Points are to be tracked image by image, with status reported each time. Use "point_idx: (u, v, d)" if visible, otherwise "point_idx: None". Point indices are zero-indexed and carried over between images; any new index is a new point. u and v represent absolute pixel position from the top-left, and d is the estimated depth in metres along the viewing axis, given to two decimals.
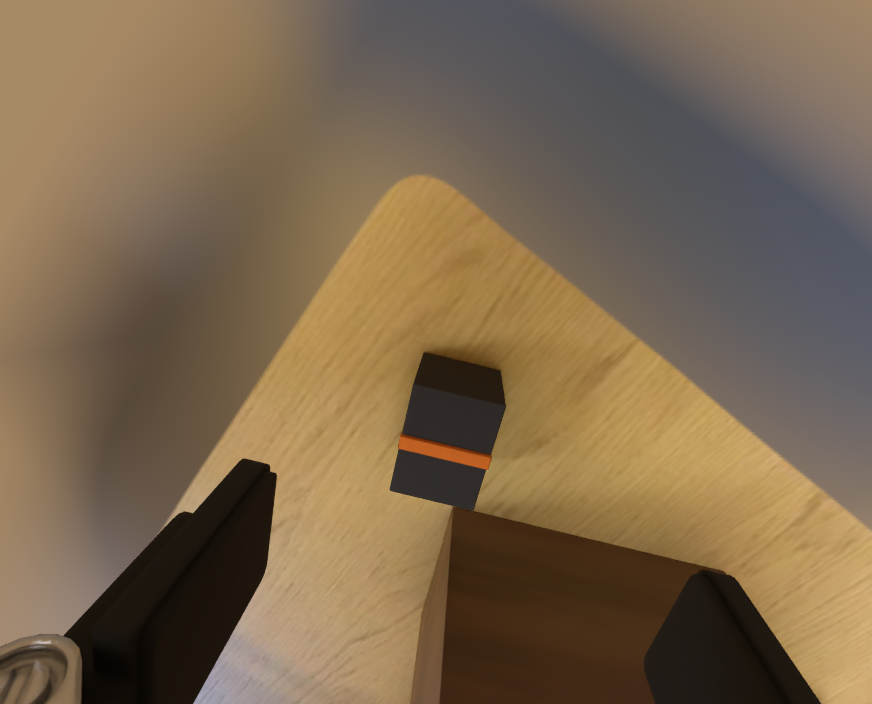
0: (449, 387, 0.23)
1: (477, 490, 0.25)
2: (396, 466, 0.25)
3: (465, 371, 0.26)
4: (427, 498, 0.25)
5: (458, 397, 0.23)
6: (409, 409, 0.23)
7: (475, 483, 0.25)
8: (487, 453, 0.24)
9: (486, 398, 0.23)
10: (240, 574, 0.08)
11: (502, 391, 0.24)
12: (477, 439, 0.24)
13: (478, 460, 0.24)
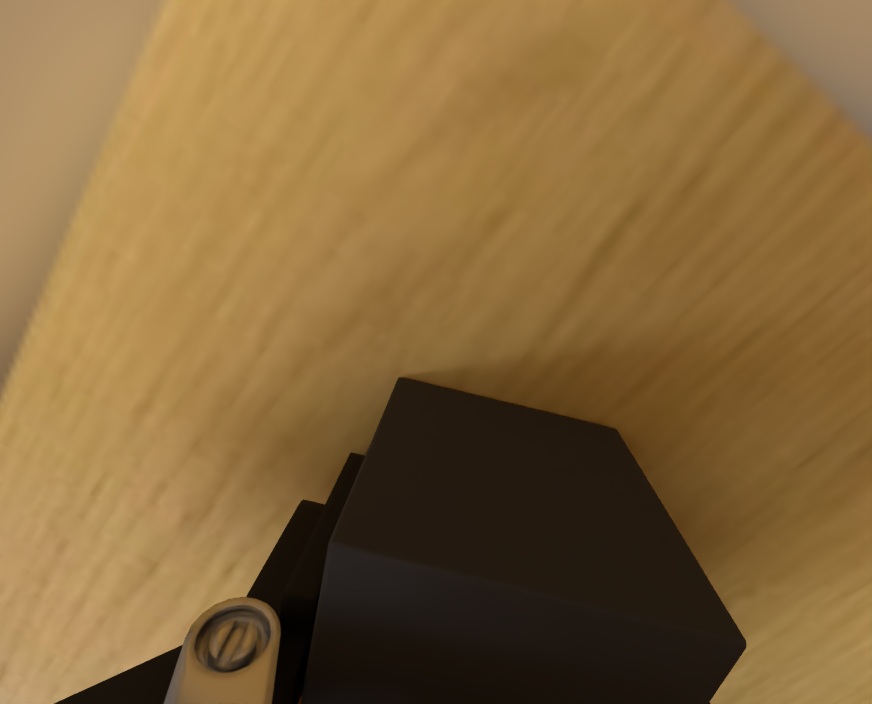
0: (487, 543, 0.06)
1: None
2: None
3: (524, 442, 0.08)
4: None
5: (530, 604, 0.05)
6: (319, 637, 0.06)
7: None
8: None
9: (652, 602, 0.05)
10: None
11: (677, 533, 0.07)
12: None
13: None
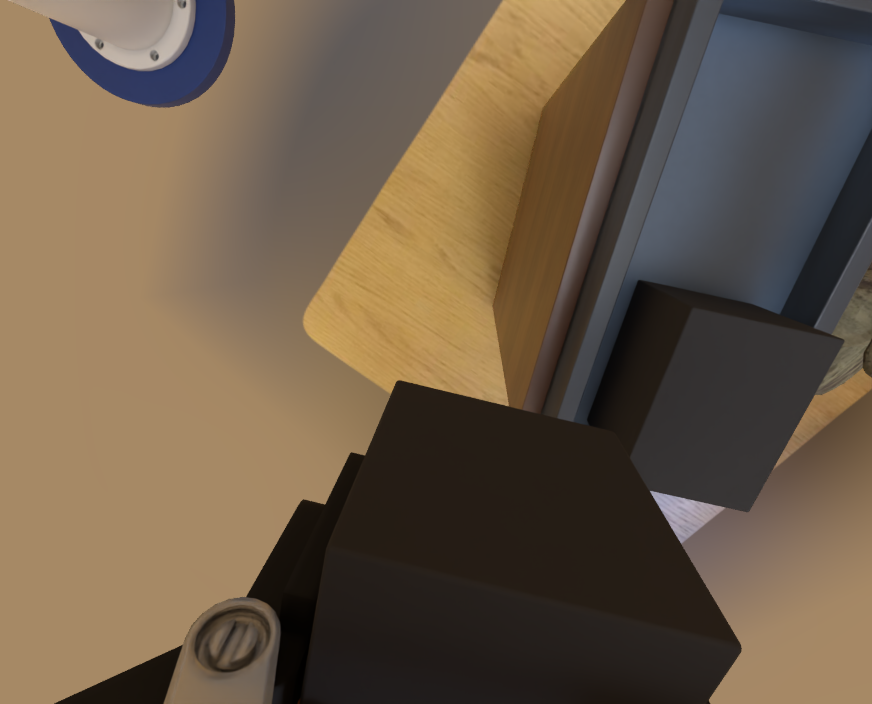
0: (484, 548, 0.06)
1: None
2: None
3: (522, 445, 0.08)
4: None
5: (527, 608, 0.05)
6: (316, 641, 0.06)
7: None
8: None
9: (647, 606, 0.05)
10: None
11: (673, 536, 0.07)
12: None
13: None
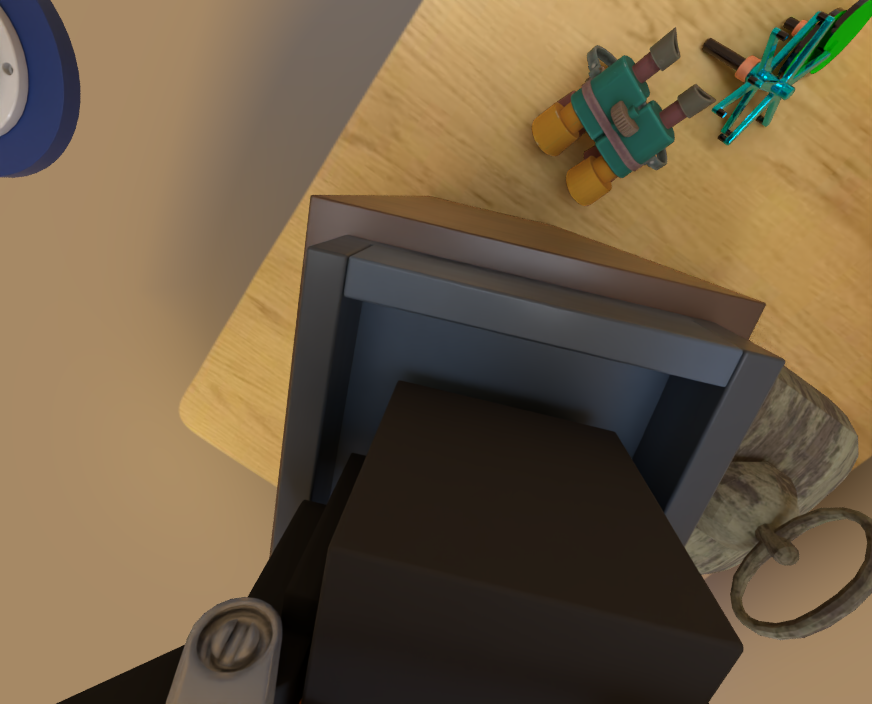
0: (485, 548, 0.06)
1: None
2: None
3: (523, 445, 0.08)
4: None
5: (529, 608, 0.05)
6: (318, 641, 0.06)
7: None
8: None
9: (651, 605, 0.05)
10: None
11: (675, 536, 0.07)
12: None
13: None
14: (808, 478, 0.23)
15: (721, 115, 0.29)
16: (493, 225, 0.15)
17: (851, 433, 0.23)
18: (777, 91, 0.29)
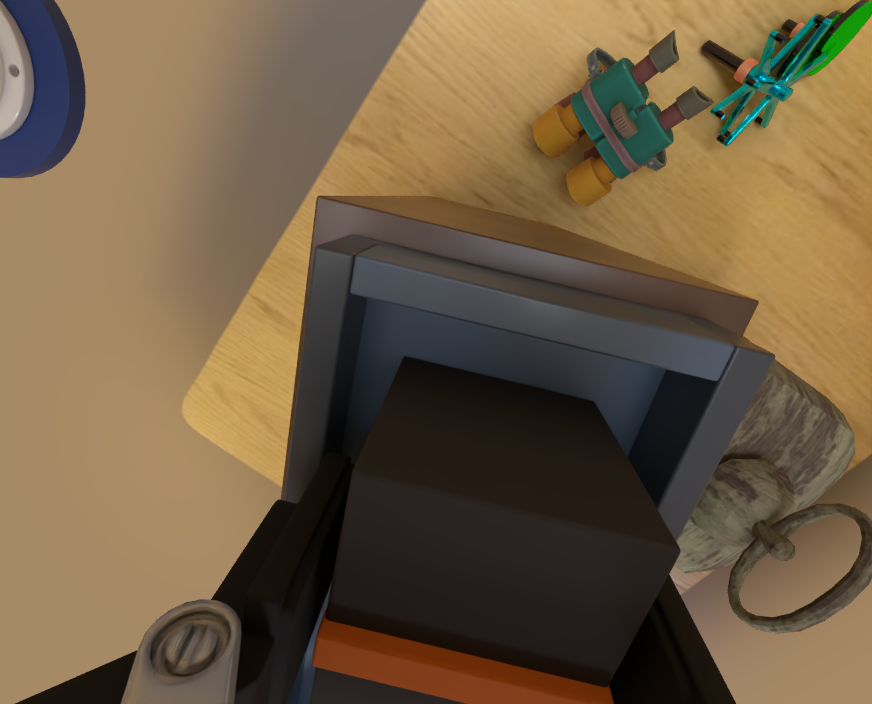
0: (477, 477, 0.07)
1: None
2: (314, 701, 0.08)
3: (512, 408, 0.10)
4: None
5: (511, 519, 0.06)
6: (343, 552, 0.07)
7: None
8: (596, 680, 0.08)
9: (608, 520, 0.07)
10: (331, 556, 0.09)
11: (636, 477, 0.08)
12: (571, 645, 0.07)
13: None
14: (805, 475, 0.23)
15: (720, 116, 0.29)
16: (494, 225, 0.16)
17: (847, 431, 0.23)
18: (775, 93, 0.29)
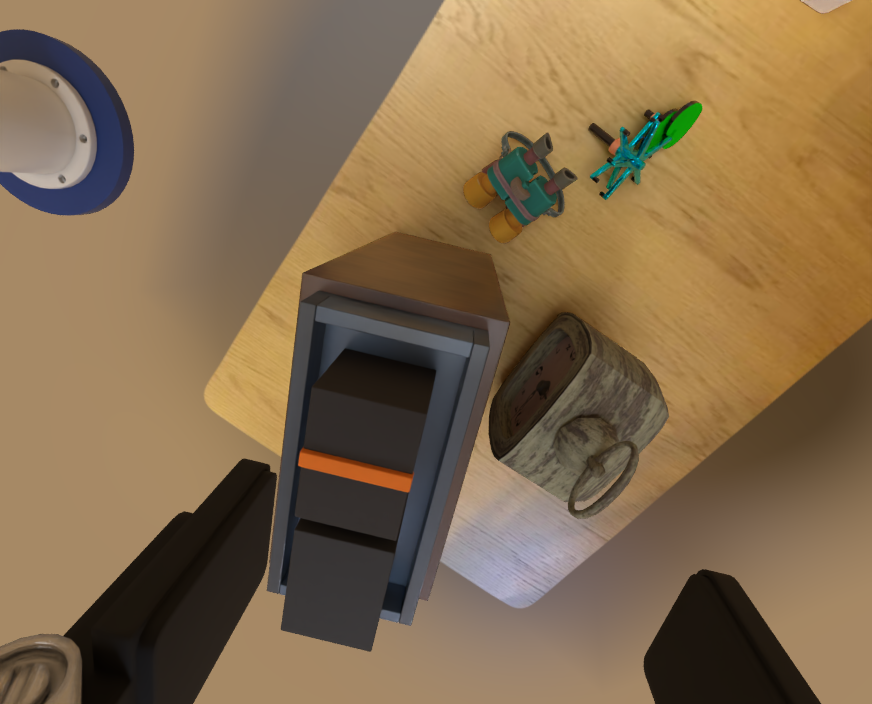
0: (358, 391, 0.19)
1: (399, 516, 0.20)
2: (299, 488, 0.20)
3: (389, 370, 0.21)
4: (340, 526, 0.21)
5: (367, 403, 0.18)
6: (309, 418, 0.19)
7: (396, 509, 0.20)
8: (408, 472, 0.19)
9: (404, 405, 0.19)
10: (240, 574, 0.08)
11: (429, 395, 0.20)
12: (395, 455, 0.19)
13: (397, 480, 0.19)
14: (630, 429, 0.35)
15: (595, 181, 0.41)
16: (406, 275, 0.28)
17: (657, 400, 0.35)
18: (634, 165, 0.41)
